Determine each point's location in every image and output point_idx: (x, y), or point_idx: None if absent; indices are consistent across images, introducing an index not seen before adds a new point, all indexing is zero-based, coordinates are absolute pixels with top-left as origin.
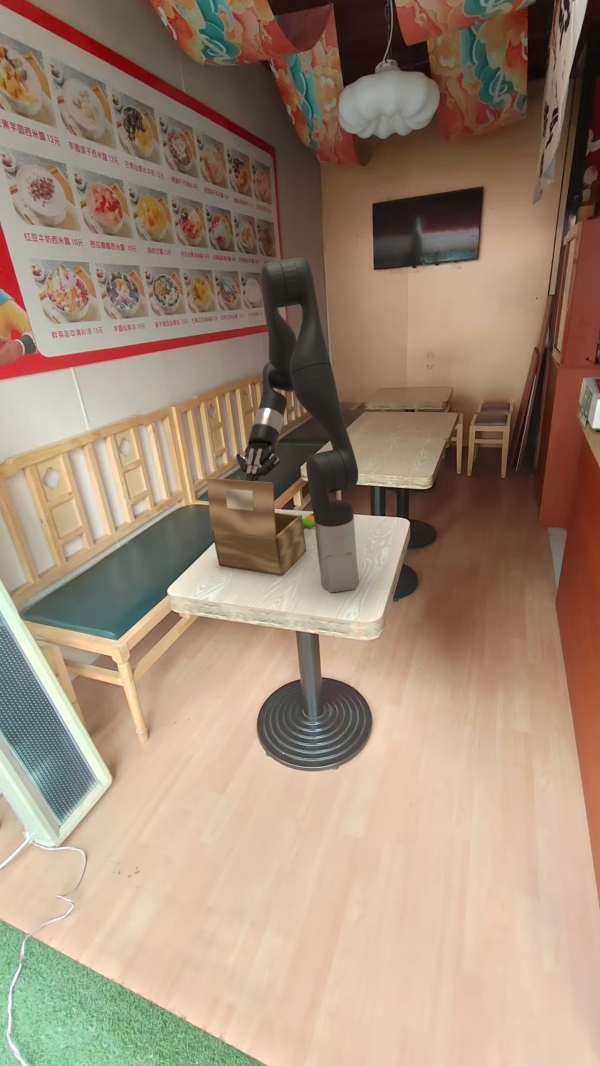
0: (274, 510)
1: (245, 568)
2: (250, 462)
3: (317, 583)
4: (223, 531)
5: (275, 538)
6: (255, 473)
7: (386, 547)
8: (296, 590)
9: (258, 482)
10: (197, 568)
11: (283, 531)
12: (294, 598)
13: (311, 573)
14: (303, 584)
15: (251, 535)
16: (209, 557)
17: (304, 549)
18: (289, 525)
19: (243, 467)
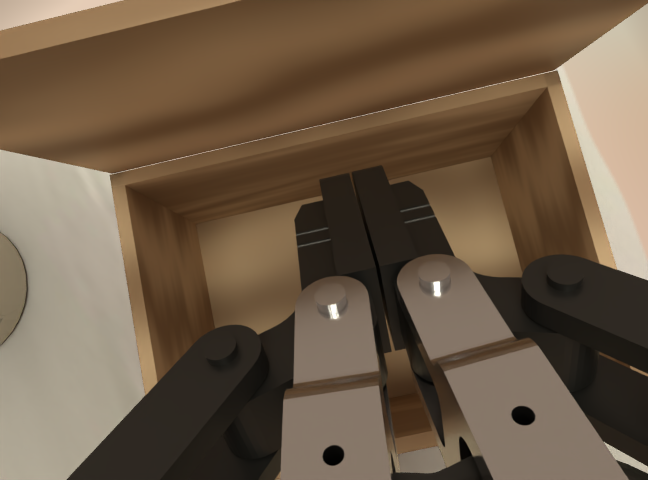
0: (21, 151)
1: None
2: (473, 377)
3: (31, 242)
4: (469, 91)
5: (120, 174)
6: (303, 296)
7: None
8: (75, 166)
9: (2, 36)
10: (564, 86)
11: (123, 254)
12: None
13: (94, 291)
14: (75, 211)
15: (274, 138)
16: (602, 179)
17: None
18: (142, 337)
19: (586, 296)
